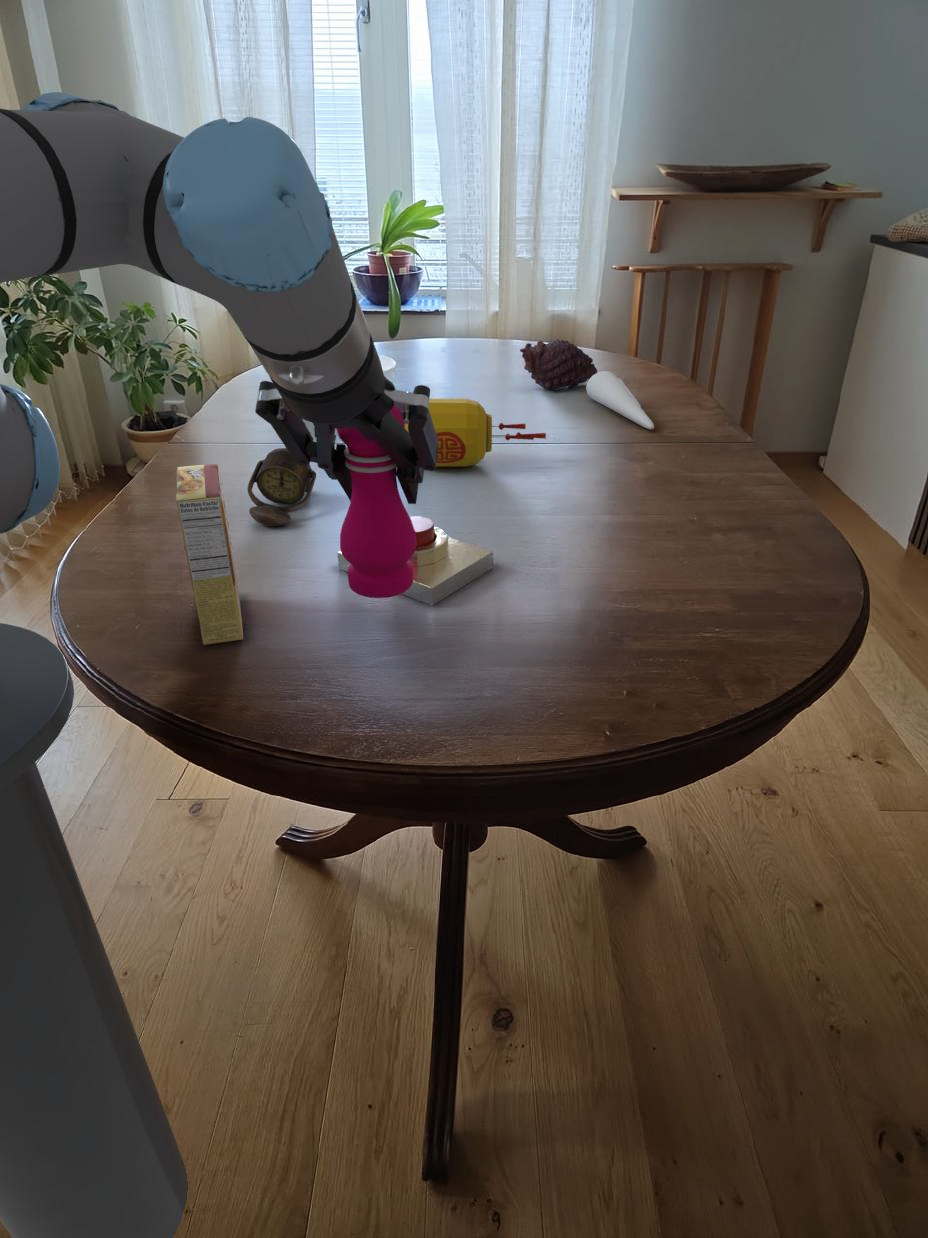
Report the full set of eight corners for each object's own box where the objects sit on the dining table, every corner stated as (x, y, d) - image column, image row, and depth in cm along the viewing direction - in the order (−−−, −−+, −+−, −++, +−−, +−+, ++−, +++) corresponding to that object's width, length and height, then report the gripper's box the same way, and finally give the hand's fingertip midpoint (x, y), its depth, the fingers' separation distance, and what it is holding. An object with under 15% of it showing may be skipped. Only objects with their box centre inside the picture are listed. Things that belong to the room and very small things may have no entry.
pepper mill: (331, 595, 74) (309, 382, 64) (360, 562, 80) (344, 362, 70) (403, 605, 73) (393, 387, 63) (427, 571, 79) (421, 367, 69)
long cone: (617, 442, 134) (583, 399, 149) (652, 443, 136) (614, 401, 151) (625, 410, 131) (589, 370, 146) (661, 412, 132) (621, 371, 147)
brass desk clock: (340, 460, 106) (278, 434, 109) (284, 483, 96) (217, 454, 98) (332, 508, 110) (272, 482, 112) (277, 536, 99) (213, 507, 102)
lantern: (545, 386, 118) (344, 386, 118) (550, 420, 111) (337, 420, 111) (540, 444, 125) (351, 444, 125) (545, 479, 118) (344, 479, 118)
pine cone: (579, 375, 167) (604, 338, 159) (590, 409, 162) (616, 373, 154) (505, 358, 159) (527, 319, 151) (515, 394, 154) (538, 355, 147)
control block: (338, 569, 91) (335, 537, 89) (402, 536, 98) (400, 506, 96) (432, 606, 83) (431, 572, 81) (492, 568, 91) (493, 536, 89)
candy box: (200, 603, 84) (173, 466, 76) (241, 598, 85) (218, 461, 77) (202, 647, 77) (172, 500, 69) (247, 640, 78) (222, 494, 70)
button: (387, 541, 89) (386, 525, 87) (412, 529, 91) (412, 512, 90) (416, 552, 86) (416, 535, 85) (442, 538, 89) (441, 522, 88)
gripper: (180, 395, 53) (288, 521, 76) (443, 403, 51) (474, 530, 74) (199, 298, 55) (299, 449, 78) (454, 303, 53) (481, 457, 75)
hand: (384, 489), depth 76 cm, fingers closed on pepper mill, 5 cm apart
